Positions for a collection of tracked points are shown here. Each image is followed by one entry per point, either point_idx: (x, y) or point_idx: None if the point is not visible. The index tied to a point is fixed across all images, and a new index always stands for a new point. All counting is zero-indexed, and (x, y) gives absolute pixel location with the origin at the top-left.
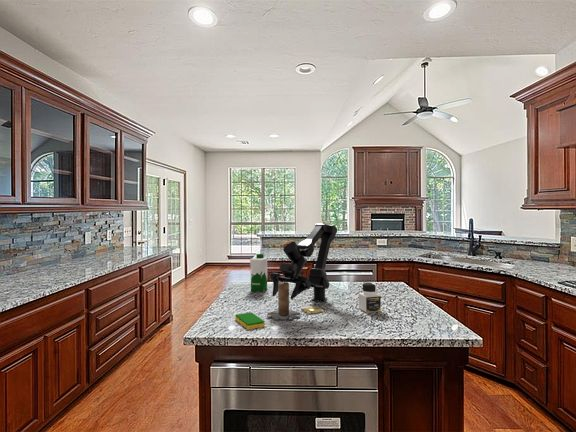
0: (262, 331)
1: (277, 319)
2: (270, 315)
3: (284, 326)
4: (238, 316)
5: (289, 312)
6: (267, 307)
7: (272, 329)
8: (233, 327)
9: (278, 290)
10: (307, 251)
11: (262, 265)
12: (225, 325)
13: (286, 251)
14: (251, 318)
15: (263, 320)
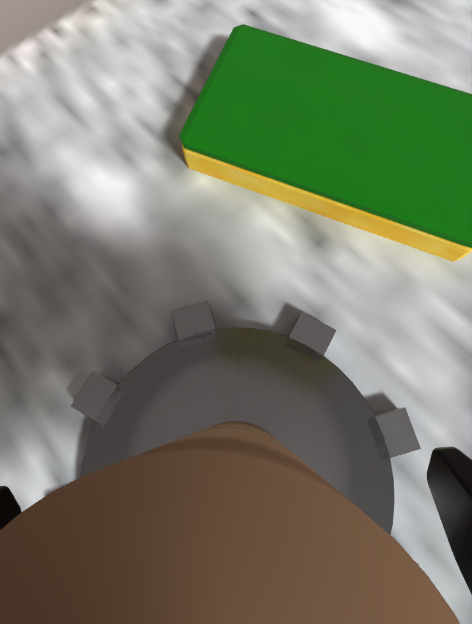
0: (127, 88)
1: (179, 311)
2: (307, 349)
3: (51, 252)
4: (454, 91)
5: None
6: None
7: (91, 153)
8: (348, 27)
9: (302, 462)
10: None
11: None
12: (425, 19)
13: None
14: (320, 118)
15: (204, 149)
